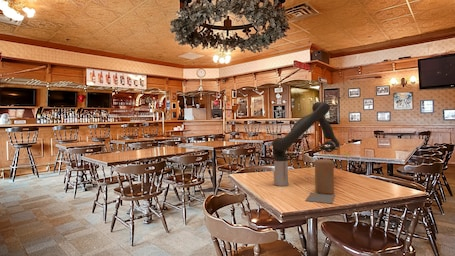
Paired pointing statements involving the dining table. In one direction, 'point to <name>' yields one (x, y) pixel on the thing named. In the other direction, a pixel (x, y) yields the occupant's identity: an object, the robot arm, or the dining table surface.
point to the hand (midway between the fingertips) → (326, 148)
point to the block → (324, 176)
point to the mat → (320, 198)
